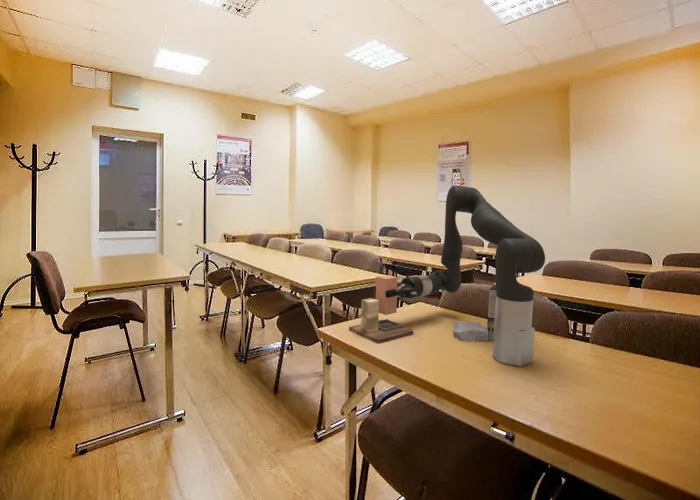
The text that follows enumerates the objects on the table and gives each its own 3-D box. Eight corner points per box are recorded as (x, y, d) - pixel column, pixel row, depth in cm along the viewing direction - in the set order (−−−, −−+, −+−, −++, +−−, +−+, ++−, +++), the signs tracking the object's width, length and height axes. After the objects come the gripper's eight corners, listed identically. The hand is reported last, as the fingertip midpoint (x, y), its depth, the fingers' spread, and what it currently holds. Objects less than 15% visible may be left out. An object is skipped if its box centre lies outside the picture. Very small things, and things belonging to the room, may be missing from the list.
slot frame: (403, 327, 126) (403, 325, 125) (384, 331, 121) (384, 329, 121) (386, 321, 132) (386, 319, 132) (368, 325, 127) (368, 323, 127)
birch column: (378, 330, 122) (378, 300, 121) (368, 332, 119) (369, 302, 118) (370, 327, 125) (371, 298, 124) (360, 329, 123) (361, 299, 122)
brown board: (413, 334, 122) (413, 330, 122) (378, 343, 114) (378, 339, 113) (382, 322, 134) (382, 319, 134) (349, 330, 126) (349, 326, 125)
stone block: (459, 347, 117) (491, 342, 116) (456, 332, 116) (489, 327, 116) (450, 336, 129) (480, 331, 128) (448, 322, 128) (477, 317, 128)
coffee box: (507, 342, 116) (510, 291, 114) (485, 339, 119) (488, 289, 117) (510, 334, 124) (513, 286, 122) (489, 331, 127) (492, 284, 125)
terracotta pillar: (396, 312, 126) (397, 277, 124) (385, 315, 123) (386, 279, 121) (386, 309, 130) (387, 274, 128) (375, 311, 127) (376, 276, 125)
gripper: (402, 273, 139) (366, 277, 129) (432, 279, 127) (395, 285, 117) (402, 292, 140) (366, 299, 130) (431, 301, 128) (394, 308, 118)
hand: (380, 292), depth 124 cm, fingers closed on terracotta pillar, 5 cm apart
